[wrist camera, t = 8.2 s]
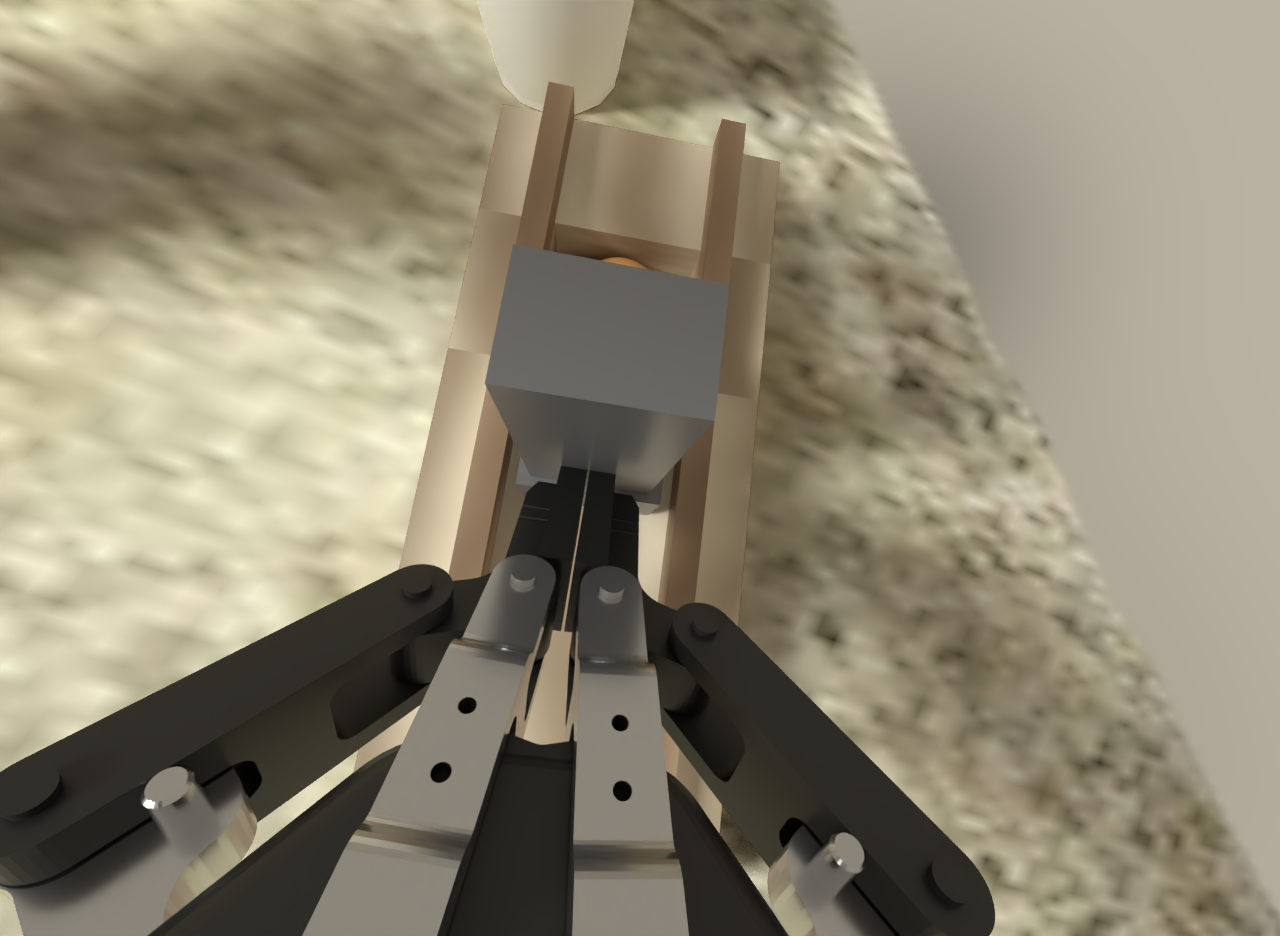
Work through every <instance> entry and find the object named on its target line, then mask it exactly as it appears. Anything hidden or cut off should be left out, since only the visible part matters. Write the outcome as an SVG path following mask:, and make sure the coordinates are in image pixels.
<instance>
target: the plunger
mask: <svg viewBox="0 0 1280 936" xmlns="http://www.w3.org/2000/svg"><path fill="white" fill-rule="evenodd" d="M728 293H729V284H723V283H718V282H713V281H707V280H702V279H697V278H691V277H686V276H681V275H675V274H670V273H665V272H659V271H654V270H649V269H643V268H638V267H633V266H627V265H622V264H617V263H611V262H606V261H601V260H595V259H590V258H585V257H579V256H574V255H568V254H563V253H558V252H552V251H547V250H542V249H536V248H531V247H526V246H520V245H515V244H513V247H512V252H511V257H510V262H509V267H508V272H507V277H506V282H505V286H504V291H503V296H502V301H501V306H500V311H499V316H498V321H497V326H496V331H495V335H494V340H493V345H492V350H491V355H490V360H489V365H488V370H487V375H486V379H485V385H486V387H487V389H488V391H489V393H490V395H491V397H492V399H493V401H494V403H495V405H496V407H497V409H498V411H499V413H500V415H501V417H502V419H503V421H504V423H505V425H506V427H507V429H508V431H509V433H510V436H511V438H512V440H513V442H514V444H515V446H516V448H517V450H518V452H519V454H520V462H519V467H518V472H517V478H516V483H515V484H516V485H517V487H518V488H519V490H520V491H521V492H522V494H523V495H524V497H525V496H526V493H527V491H528V490H529V489H530V488H531V487H533V486H534V485H535V484H536V483H537V482H538V481H541V482H547V483H554V484H557V480H558V476H559V472H560V468H561V466H564V467H571V468H577V469H584V470H587V476H586V483H585V489H584V496H583V503H582V506H584V502H585V496H586V490H587V484H588V478H589V472H590V470H591V471H597V472H604V473H610V474H616V478H615V490H614V493H620V494H626V495H632V496H633V498H634V500H635V502H636V503H637V505H638V507H639V514H641V515H649V514H650V513H651V512H652V511H654V510H655V509H656V508H657V507H659V506H660V503H661V495H662V487H663V479H664V476H665V475H666V474H667V473H668V472H669V471H670V470H671V469H672V467H673V466H674V465H675V464H676V463H677V462H678V461H679V460H680V459H681V458H682V457H683V455H684V454H685V453H686V452H687V451H688V450H689V449H690V448H691V447H692V446H693V444H694V443H695V442H696V441H697V440H698V439H699V438H700V437H701V436H702V435H703V434H704V432H705V431H706V430H707V429H708V428H709V427H710V426H711V425H712V424H713V423H714V421H715V415H716V406H717V396H718V387H719V378H720V368H721V359H722V350H723V340H724V331H725V322H726V312H727V303H728Z"/></svg>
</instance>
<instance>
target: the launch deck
mask: <svg viewBox="0 0 1280 936" xmlns="http://www.w3.org/2000/svg"><path fill="white" fill-rule="evenodd" d="M745 131H746V124H744V123H739V122H735V121H730V120H725V119H722V121H721V124H720V127H719V130H718V134H717V137H716V140H715V143H714V146H713V148H711V147H706V146H701V145H696V144H692V143H687V142H682V141H677V140H673V139H668V138H663V137H658V136H653V135H649V134H644V133H639V132H634V131H630V130H625V129H620V128H615V127H611V126H606V125H601V124H596V123H591V122H587V121H582V120H577V119H574V87H572V86H567V85H562V84H558V83H553V82H548V87H547V92H546V97H545V102H544V107H543V112H539V111H534V110H529V109H525V108H520V107H515V106H510V105H506V104H502V109H501V113H500V118H499V122H498V127H497V131H496V135H495V140H494V144H493V149H492V153H491V158H490V162H489V167H488V171H487V176H486V180H485V185H484V189H483V194H482V198H481V203H480V207H479V212H478V216H477V221H476V225H475V230H474V234H473V239H472V243H471V248H470V252H469V257H468V261H467V266H466V270H465V274H464V279H463V283H462V288H461V292H460V297H459V301H458V306H457V310H456V315H455V319H454V324H453V328H452V333H451V337H450V342H449V346H448V351H447V355H446V360H445V364H444V369H443V373H442V378H441V382H440V387H439V391H438V396H437V400H436V405H435V409H434V414H433V418H432V422H431V427H430V431H429V436H428V440H427V445H426V449H425V454H424V458H423V463H422V467H421V472H420V476H419V481H418V485H417V490H416V494H415V499H414V503H413V508H412V512H411V517H410V521H409V526H408V530H407V535H406V539H405V544H404V548H403V553H402V557H401V561H400V566H399V569H401V568H404V567H407V566H410V565H416V564H429V565H434V566H437V567H440V568H442V569H443V570H445V571H446V572H447V573H448V574H449V575H450V577H451V578H452V581H456V580H465V579H473V578H478V577H481V576H484V575H487V574H489V573H491V572H492V571H493V570H494V568H495V566H496V565H497V564H498V563H499V562H501V561H502V560H504V559H505V557H506V555H507V551H508V548H509V545H510V542H511V539H512V536H513V533H514V530H515V527H516V524H517V521H518V518H519V514H520V511H521V508H522V506H523V502H524V499H525V497H524V495H523V494H522V492H521V491H520V490H519V488H518V487H517V485H516V484H515V483H516V478H517V472H518V467H519V462H520V454H519V452H518V450H517V448H516V446H515V444H514V442H513V440H512V438H511V436H510V433H509V431H508V429H507V427H506V425H505V423H504V421H503V419H502V417H501V415H500V413H499V411H498V409H497V407H496V405H495V403H494V401H493V399H492V397H491V395H490V393H489V391H488V389H487V387H486V385H485V379H486V375H487V370H488V365H489V360H490V355H491V350H492V345H493V340H494V335H495V331H496V326H497V321H498V316H499V311H500V306H501V301H502V296H503V291H504V286H505V282H506V277H507V272H508V267H509V262H510V257H511V252H512V247H513V244H515V245H520V246H526V247H531V248H536V249H542V250H547V251H552V252H558V253H563V254H568V255H574V256H579V257H585V258H590V259H595V260H603V259H607V258H612V257H623V258H628V259H631V260H634V261H636V262H638V263H640V264H641V265H643V266H644V267H646V268H647V269H649V270H654V271H659V272H665V273H670V274H675V275H681V276H686V277H691V278H697V279H702V280H707V281H713V282H718V283H723V284H729V293H728V303H727V312H726V322H725V331H724V340H723V350H722V359H721V368H720V378H719V387H718V396H717V406H716V415H715V421H714V423H713V424H712V425H711V426H710V427H709V428H708V429H707V430H706V431H705V432H704V434H703V435H702V436H701V437H700V438H699V439H698V440H697V441H696V442H695V443H694V444H693V446H692V447H691V448H690V449H689V450H688V451H687V452H686V453H685V454H684V455H683V457H682V458H681V459H680V460H679V461H678V462H677V463H676V464H675V465H674V466H673V467H672V469H671V470H670V471H669V472H668V473H667V474H666V475H665V476H664V479H663V487H662V495H661V503H660V506H659V507H657V508H656V509H655V510H654V511H652V512H651V513H650V514H649V515H641V514H639V550H638V579H639V583H640V585H641V587H642V589H643V590H644V591H645V592H646V594H647V595H648V596H650V597H651V598H652V599H653V600H655V601H657V602H658V603H661V604H663V605H665V606H667V607H670V608H672V609H675V610H678V609H679V608H680V607H682V606H683V605H685V604H688V603H695V602H698V603H705V604H709V605H712V606H714V607H716V608H718V609H719V610H721V611H722V612H724V613H725V614H726V615H727V616H728V617H729V618H730V619H731V620H732V621H733V622H734V623H735V624H736V625H737V626H738V622H739V611H740V600H741V589H742V578H743V566H744V555H745V544H746V533H747V522H748V511H749V500H750V489H751V477H752V466H753V455H754V444H755V433H756V422H757V411H758V400H759V388H760V377H761V366H762V355H763V344H764V333H765V322H766V311H767V299H768V288H769V277H770V266H771V255H772V244H773V233H774V222H775V210H776V199H777V188H778V177H779V166H780V162H777V161H773V160H768V159H763V158H758V157H754V156H749V155H744V154H743V149H744V140H745ZM583 508H584V506H582V509H581V516H580V522H579V528H578V535H577V540H576V546H575V552H574V558H573V564H572V570H571V576H570V582H569V588H568V594H567V600H566V606H565V612H564V618H563V623H562V629H561V631H555V630H553V631H552V637H551V642H550V646H549V649H548V651H547V653H546V657H545V662H544V666H543V669H542V673H541V676H540V680H539V683H538V687H537V690H536V694H535V698H534V701H533V705H532V708H531V712H530V715H529V719H528V723H527V726H526V730H525V734H524V738H523V739H525V740H528V741H530V742H533V743H536V744H540V745H546V744H553V743H560V742H562V741H563V728H564V711H565V694H566V677H567V662H568V656H569V650H570V643H571V637H572V632H564V628H565V622H566V615H567V609H568V602H569V596H570V589H571V583H572V576H573V570H574V563H575V557H576V551H577V545H578V539H579V533H580V527H581V520H582V514H583ZM419 707H420V706H418V707H417V708H415V709H414V710H413V711H411V712H410V713H408V714H407V715H406V716H404V717H403V718H402V719H400V720H399V721H397V722H396V723H395V724H393V725H392V726H390V727H389V728H388V729H386V730H385V731H384V732H382V733H381V734H379V735H378V736H377V737H375V738H374V739H372V740H371V741H370V742H368V743H367V744H365V745H364V746H363V747H361V748H360V749H359V750H358V754H357V759H356V763H355V768H354V772H355V771H356V770H357V769H359V768H360V767H361V766H363V765H364V764H366V763H367V762H368V761H370V760H372V759H373V758H375V757H376V756H378V755H380V754H381V753H383V752H385V751H387V750H389V749H391V748H393V747H395V746H398V745H401V744H402V743H403V741H404V739H405V737H406V735H407V732H408V730H409V728H410V726H411V724H412V722H413V720H414V718H415V716H416V714H417V711H418V709H419ZM662 733H663V743H664V753H665V763H666V771H667V772H669V773H670V774H672V775H673V776H674V777H675V778H677V779H678V780H679V781H680V782H681V783H682V784H683V785H684V786H685V787H686V788H687V789H688V790H689V792H690V793H691V794H692V795H693V796H694V797H695V799H696V800H697V802H698V803H699V804H700V806H701V807H702V809H703V810H704V812H705V813H706V815H707V816H708V818H709V819H710V821H711V822H712V823H713V825H714V826H715V828H716V829H717V831H718V832H719V833H720V822H721V811H722V804H721V803H720V802H719V800H718V799H717V798H716V796H715V795H714V794H713V792H712V791H711V790H710V789H709V787H708V786H707V785H706V783H705V782H704V781H703V779H702V778H701V777H700V775H699V774H698V773H697V771H696V770H695V769H694V767H693V766H692V765H691V763H690V762H689V761H688V759H687V758H686V757H685V755H684V754H683V753H682V751H681V750H680V749H679V747H678V746H677V745H676V744H675V742H674V741H673V740H672V738H671V737H670V736H669V734H668V733H667V732H666V730H665V729H664V728H663V726H662ZM354 772H353V773H354Z"/></svg>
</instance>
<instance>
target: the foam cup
mask: <svg viewBox="0 0 1280 936" xmlns="http://www.w3.org/2000/svg"><path fill="white" fill-rule="evenodd" d="M476 1H477V4H478V8H479V11H480V14H481V18H482V21H483V24H484V28H485V31H486V34H487V38H488V41H489V44H490V48H491V51H492V54H493V57H494V60H495V63H496V66H497V69H498V72H499V75H500V78H501V81H502V84H503V85H504V86H505V87H506V88H507V89H508V90H509V91H510V92H511V93H512V94H513V95H514V96H515V97H516V98H517V99H518V100H519V101H520V102H521V103H522V104H524V105H527V106H529V107H531V108H534V109H536V110H539V111H541V112H543V107H544V102H545V97H546V92H547V87H548V82H553V83H558V84H562V85H567V86H572V87H574V115H576V114H578V113H581V112H583V111H586V110H588V109H590V108H593V107H595V106H598V105H600V104H601V103H602V101H603V100H604V99H605V98H606V97H607V95H608V94H609V93H610V92H611V91H612V90H613V88H614V87H615V82H616V77H617V76H618V71H619V67H620V62H621V58H622V53H623V49H624V44H625V40H626V35H627V31H628V26H629V22H630V17H631V13H632V9H633V4H634V0H476Z"/></svg>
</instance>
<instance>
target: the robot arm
mask: <svg viewBox="0 0 1280 936" xmlns="http://www.w3.org/2000/svg"><path fill="white" fill-rule="evenodd" d="M586 476H587V470H584V469H577V468H571V467H564V466H561V468H560V472H559V476H558V480H557V484H554V483H547V482H541V481H538V482H537V483H536V484H535V485H534V486H533V487H531V488H530V489H529V490H528V491H527V493H526V496H525V499H524V502H523V506H522V508H521V511H520V514H519V518H518V521H517V524H516V527H515V530H514V533H513V536H512V539H511V542H510V545H509V548H508V551H507V555H506V557H505V559H504V560H502V561H501V562H499V563H498V564H497V565H496V566H495V568H494V570H493V571H492V572H491V573H489V574H487V575H484V576H481V577H478V578H473V579H465V580H456V581H452V578H451V577H450V575H449V574H448V573H447V572H446V571H445V570H443V569H442V568H440V567H437V566H434V565H429V564H416V565H410V566H407V567H404V568H401V569H399V570H397V571H395V572H393V573H391V574H389V575H387V576H385V577H383V578H381V579H379V580H377V581H375V582H373V583H371V584H369V585H367V586H365V587H363V588H361V589H359V590H357V591H355V592H353V593H351V594H349V595H347V596H345V597H343V598H341V599H339V600H337V601H335V602H333V603H331V604H329V605H327V606H325V607H323V608H321V609H319V610H317V611H316V612H314V613H312V614H310V615H308V616H306V617H304V618H302V619H300V620H298V621H296V622H294V623H292V624H290V625H288V626H286V627H284V628H282V629H280V630H278V631H276V632H274V633H272V634H270V635H268V636H266V637H264V638H262V639H260V640H258V641H256V642H254V643H252V644H250V645H248V646H246V647H244V648H242V649H240V650H238V651H236V652H234V653H232V654H230V655H228V656H226V657H224V658H222V659H220V660H218V661H216V662H214V663H212V664H210V665H208V666H206V667H204V668H203V669H201V670H199V671H197V672H195V673H193V674H191V675H189V676H187V677H185V678H183V679H181V680H179V681H177V682H175V683H173V684H171V685H169V686H167V687H165V688H163V689H161V690H159V691H157V692H155V693H153V694H151V695H149V696H147V697H145V698H143V699H141V700H139V701H137V702H135V703H133V704H131V705H129V706H127V707H125V708H123V709H121V710H119V711H117V712H115V713H113V714H111V715H109V716H107V717H105V718H103V719H101V720H99V721H97V722H95V723H93V724H91V725H89V726H88V727H86V728H84V729H82V730H80V731H78V732H76V733H74V734H72V735H70V736H68V737H66V738H64V739H62V740H60V741H58V742H56V743H54V744H52V745H50V746H48V747H46V748H44V749H42V750H40V751H38V752H36V753H34V754H32V755H30V756H28V757H26V758H24V759H22V760H20V761H18V762H17V763H15V764H13V765H11V766H9V767H8V768H6V769H5V770H3V771H2V772H0V893H2V894H3V895H4V896H5V897H7V898H8V899H9V900H10V901H12V902H13V903H14V904H15V907H16V911H17V914H18V918H19V921H20V925H21V928H22V932H23V935H24V936H989V935H990V934H991V932H992V930H993V927H994V923H995V909H994V904H993V900H992V896H991V894H990V891H989V888H988V886H987V884H986V882H985V880H984V878H983V877H982V875H981V874H980V872H979V870H978V869H977V868H976V866H975V865H974V864H973V862H972V861H971V860H970V859H969V858H968V857H967V856H966V855H965V854H964V853H963V852H962V851H961V850H960V849H959V848H958V847H957V846H956V845H955V844H954V843H953V842H952V841H951V840H950V839H949V838H948V837H947V836H946V835H945V834H944V833H943V832H942V831H941V830H940V829H939V828H938V827H937V826H936V825H935V824H934V823H933V822H932V821H931V820H930V819H929V818H928V817H927V816H926V815H925V814H924V813H923V812H922V811H921V810H920V809H919V808H918V807H917V806H916V805H915V804H914V803H913V802H912V801H911V800H910V799H909V798H908V797H907V796H906V795H905V794H904V793H903V792H902V791H901V790H900V789H899V788H898V787H897V786H896V785H895V784H894V783H893V782H892V781H891V779H890V778H889V777H888V776H887V775H886V774H885V773H884V772H883V771H882V770H881V769H880V768H879V767H878V766H877V765H876V764H875V763H874V762H873V761H872V760H871V759H870V758H869V757H868V756H867V755H866V754H865V753H864V752H863V751H862V750H861V749H860V748H859V747H858V746H857V745H856V744H855V743H854V742H853V741H852V740H851V739H850V738H849V737H848V736H847V735H846V734H845V733H844V732H843V731H842V730H841V729H840V728H839V727H838V726H837V725H836V724H835V723H834V722H833V721H832V720H831V719H830V718H829V717H828V716H827V715H826V714H825V713H824V712H823V711H822V710H821V709H820V708H819V707H818V706H817V705H816V704H815V703H814V702H813V701H812V700H811V699H810V698H809V697H808V696H807V695H806V694H805V693H804V692H803V691H802V690H801V689H800V688H799V687H798V686H797V685H796V684H795V683H794V682H793V681H792V680H791V679H790V678H789V677H788V676H787V675H786V674H785V673H784V672H783V671H782V670H781V669H780V668H779V667H778V666H777V665H776V664H775V663H774V662H773V661H772V660H771V659H770V658H769V657H768V656H767V655H766V654H765V653H764V652H763V651H762V650H761V649H760V648H759V647H758V646H757V645H756V644H755V643H754V642H753V641H752V640H751V639H750V638H749V637H748V636H747V635H746V634H745V633H744V632H743V631H742V630H741V629H740V628H739V627H738V626H737V625H736V624H735V623H734V622H733V621H732V620H731V619H730V618H729V617H728V616H727V615H726V614H725V613H724V612H722V611H721V610H719V609H718V608H716V607H714V606H712V605H709V604H705V603H698V602H695V603H688V604H685V605H683V606H682V607H680V608H679V609H678V610H675V609H672V608H670V607H667V606H665V605H663V604H661V603H658V602H657V601H655V600H653V599H652V598H651V597H650V596H648V595H647V594H646V592H645V591H644V590H643V589H642V587H641V585H640V583H639V579H638V550H639V507H638V505H637V503H636V502H635V500H634V498H633V496H632V495H626V494H620V493H614V490H615V478H616V474H610V473H604V472H597V471H591V470H590V472H589V478H588V484H587V490H586V496H585V502H584V508H583V514H582V520H581V527H580V533H579V539H578V545H577V551H576V557H575V563H574V570H573V576H572V583H571V589H570V596H569V602H568V609H567V615H566V622H565V628H564V632H572V637H571V643H570V650H569V656H568V662H567V677H566V694H565V711H564V728H563V741H562V742H560V743H553V744H546V745H540V744H536V743H533V742H530V741H528V740H525V739H523V738H524V734H525V730H526V726H527V723H528V719H529V715H530V712H531V708H532V705H533V701H534V698H535V694H536V690H537V687H538V683H539V680H540V676H541V673H542V669H543V666H544V662H545V657H546V653H547V651H548V649H549V646H550V642H551V637H552V631H553V630H555V631H561V629H562V623H563V618H564V612H565V606H566V600H567V594H568V588H569V582H570V576H571V570H572V564H573V558H574V552H575V546H576V540H577V535H578V528H579V522H580V516H581V509H582V503H583V496H584V489H585V483H586ZM418 706H420V707H419V709H418V711H417V714H416V716H415V718H414V720H413V722H412V724H411V726H410V728H409V730H408V732H407V735H406V737H405V739H404V741H403V743H402V744H401V745H398V746H395V747H393V748H391V749H389V750H387V751H385V752H383V753H381V754H380V755H378V756H376V757H375V758H373V759H372V760H370V761H368V762H367V763H366V764H364V765H363V766H361V767H360V768H359V769H357V770H356V771H355V772H354V773H352V774H351V775H350V776H349V777H347V778H346V779H345V780H344V781H342V782H341V783H340V784H339V785H337V786H336V787H335V788H333V789H332V790H331V791H330V792H328V793H327V794H326V795H325V796H323V797H322V798H321V799H320V800H318V801H317V802H316V803H315V804H313V805H312V806H311V807H310V808H308V809H307V810H306V811H304V812H303V813H302V814H301V815H299V816H298V817H297V818H296V819H294V820H293V821H292V822H291V823H289V824H288V825H287V826H285V827H284V828H283V829H282V830H280V831H279V832H278V833H277V834H275V835H274V836H273V837H272V838H270V839H269V840H268V841H266V842H265V843H264V844H263V845H261V846H260V847H259V848H258V849H256V850H255V851H254V852H253V853H251V854H250V855H249V856H247V857H246V858H245V859H244V860H242V858H243V857H244V856H245V854H246V853H247V851H248V850H249V848H250V846H251V844H252V842H253V839H254V837H255V833H256V829H257V822H259V821H260V820H261V819H263V818H264V817H266V816H267V815H268V814H270V813H271V812H273V811H274V810H275V809H277V808H278V807H280V806H281V805H282V804H284V803H285V802H286V801H288V800H289V799H291V798H292V797H293V796H295V795H296V794H298V793H299V792H300V791H302V790H303V789H304V788H306V787H307V786H309V785H310V784H311V783H313V782H314V781H316V780H317V779H318V778H320V777H321V776H323V775H324V774H325V773H327V772H328V771H329V770H331V769H332V768H334V767H335V766H336V765H338V764H339V763H341V762H342V761H343V760H345V759H346V758H347V757H349V756H350V755H352V754H353V753H354V752H356V751H357V750H359V749H360V748H361V747H363V746H364V745H365V744H367V743H368V742H370V741H371V740H372V739H374V738H375V737H377V736H378V735H379V734H381V733H382V732H384V731H385V730H386V729H388V728H389V727H390V726H392V725H393V724H395V723H396V722H397V721H399V720H400V719H402V718H403V717H404V716H406V715H407V714H408V713H410V712H411V711H413V710H414V709H415V708H417V707H418ZM662 726H663V728H664V729H665V730H666V732H667V733H668V734H669V736H670V737H671V738H672V740H673V741H674V742H675V744H676V745H677V746H678V747H679V749H680V750H681V751H682V753H683V754H684V755H685V757H686V758H687V759H688V761H689V762H690V763H691V765H692V766H693V767H694V769H695V770H696V771H697V773H698V774H699V775H700V777H701V778H702V779H703V781H704V782H705V783H706V785H707V786H708V787H709V789H710V790H711V791H712V792H713V794H714V795H715V796H716V798H717V799H718V800H719V802H720V803H721V804H722V806H723V807H724V808H725V810H726V811H727V812H728V814H729V815H730V816H731V818H732V819H733V820H734V822H735V823H736V824H737V826H738V827H739V828H740V830H741V831H742V832H743V834H744V835H745V836H746V838H747V839H748V840H749V841H750V843H751V844H752V845H753V847H754V848H755V849H756V851H757V852H758V853H759V855H760V856H761V857H762V859H763V860H764V861H765V863H766V864H767V865H768V867H769V868H770V870H769V873H768V894H769V899H770V902H771V905H772V908H773V910H774V913H775V914H774V913H773V911H772V910H771V909H770V907H769V906H768V904H767V903H766V901H765V900H764V898H763V897H762V895H761V894H760V892H759V891H758V889H757V888H756V887H755V885H754V884H753V882H752V881H751V879H750V878H749V876H748V875H747V873H746V872H745V870H744V869H743V867H742V866H741V865H740V863H739V862H738V860H737V859H736V857H735V856H734V854H733V853H732V851H731V850H730V848H729V847H728V845H727V844H726V843H725V841H724V840H723V838H722V837H721V835H720V834H719V832H718V831H717V829H716V828H715V826H714V825H713V823H712V822H711V821H710V819H709V818H708V816H707V815H706V813H705V812H704V810H703V809H702V807H701V806H700V804H699V803H698V802H697V800H696V799H695V797H694V796H693V795H692V794H691V793H690V792H689V790H688V789H687V788H686V787H685V786H684V785H683V784H682V783H681V782H680V781H679V780H678V779H677V778H675V777H674V776H673V775H672V774H670V773H669V772H667V771H666V763H665V753H664V743H663V733H662ZM241 860H242V861H241ZM240 861H241V862H240ZM239 862H240V863H239ZM238 863H239V864H238ZM775 915H776V916H777V917H776V916H775ZM777 918H778V919H777Z"/></svg>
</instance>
